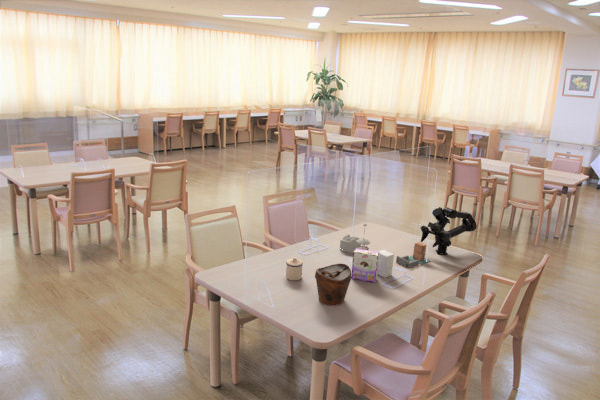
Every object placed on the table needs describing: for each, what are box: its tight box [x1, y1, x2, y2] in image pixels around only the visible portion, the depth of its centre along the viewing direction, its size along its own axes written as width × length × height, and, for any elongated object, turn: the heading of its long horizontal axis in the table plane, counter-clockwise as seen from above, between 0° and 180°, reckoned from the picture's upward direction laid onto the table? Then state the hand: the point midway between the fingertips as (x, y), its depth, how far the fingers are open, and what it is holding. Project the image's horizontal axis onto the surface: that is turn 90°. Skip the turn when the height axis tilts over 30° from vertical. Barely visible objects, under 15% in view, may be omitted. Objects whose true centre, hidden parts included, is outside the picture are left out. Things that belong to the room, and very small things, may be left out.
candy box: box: [351, 248, 380, 284], centre depth 274 cm, size 14×6×16 cm, turn 71°
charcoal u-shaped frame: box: [395, 254, 419, 268], centre depth 299 cm, size 10×9×4 cm
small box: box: [377, 249, 395, 278], centre depth 281 cm, size 8×6×13 cm
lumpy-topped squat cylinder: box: [339, 234, 362, 253], centre depth 315 cm, size 10×13×9 cm
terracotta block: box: [412, 241, 427, 261], centre depth 304 cm, size 5×5×10 cm
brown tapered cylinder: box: [314, 263, 352, 307], centre depth 248 cm, size 18×20×18 cm
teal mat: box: [408, 255, 431, 266], centre depth 306 cm, size 10×11×1 cm
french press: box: [357, 223, 371, 251], centre depth 294 cm, size 10×12×25 cm
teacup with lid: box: [285, 256, 303, 281], centre depth 273 cm, size 12×9×12 cm
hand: (426, 244), depth 307 cm, fingers open, 9 cm apart
